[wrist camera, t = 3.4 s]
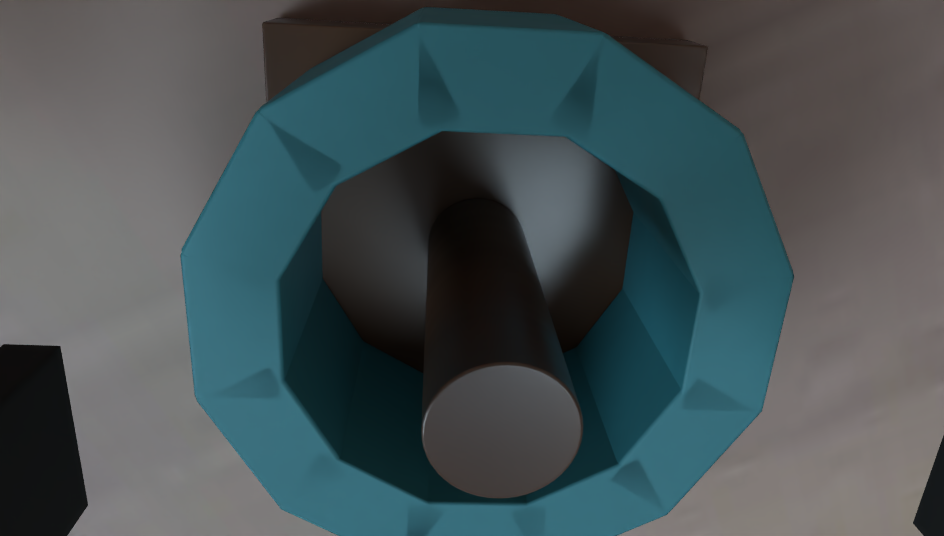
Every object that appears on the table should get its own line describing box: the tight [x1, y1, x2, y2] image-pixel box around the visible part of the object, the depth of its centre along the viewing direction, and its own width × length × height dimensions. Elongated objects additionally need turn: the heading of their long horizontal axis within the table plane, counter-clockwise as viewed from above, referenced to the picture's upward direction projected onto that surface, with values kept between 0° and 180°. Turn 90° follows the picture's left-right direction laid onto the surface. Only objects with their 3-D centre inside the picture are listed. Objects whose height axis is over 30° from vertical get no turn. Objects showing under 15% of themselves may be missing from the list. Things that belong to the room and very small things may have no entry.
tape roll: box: [181, 7, 794, 536], centre depth 16 cm, size 11×11×5 cm
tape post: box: [262, 18, 708, 498], centre depth 15 cm, size 10×10×10 cm
